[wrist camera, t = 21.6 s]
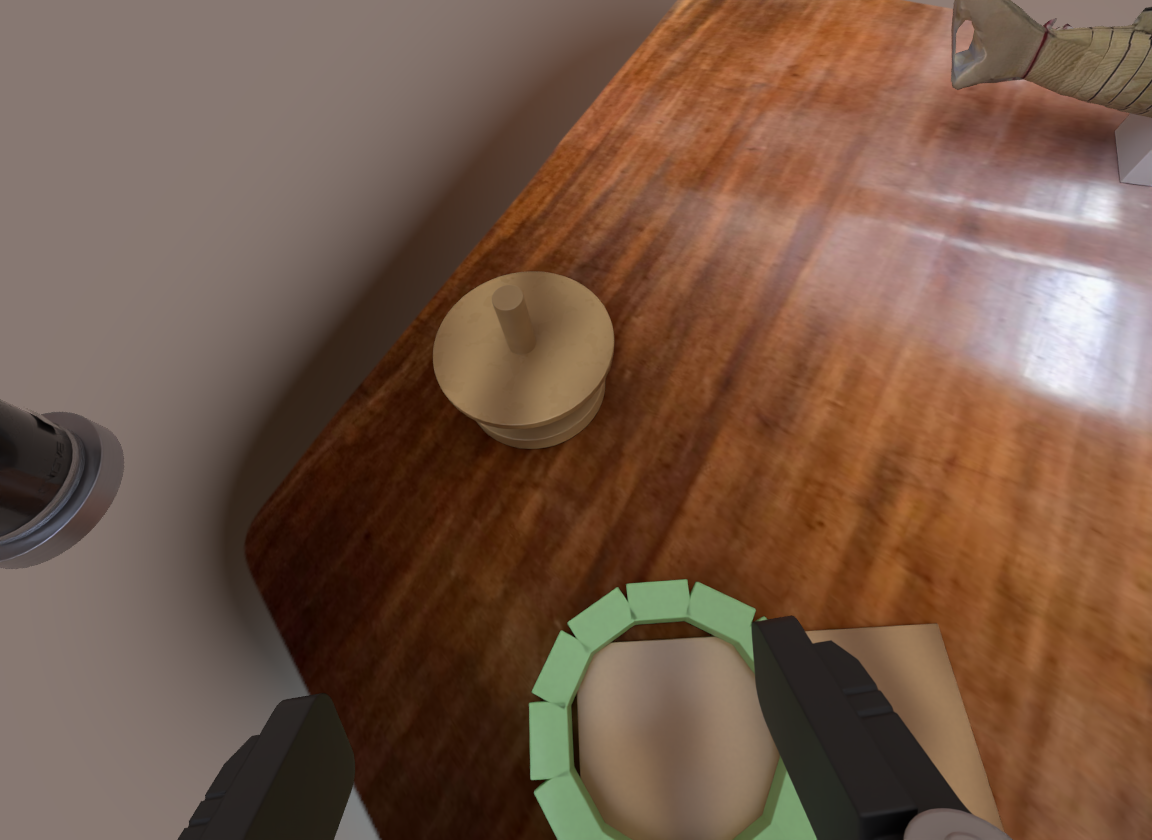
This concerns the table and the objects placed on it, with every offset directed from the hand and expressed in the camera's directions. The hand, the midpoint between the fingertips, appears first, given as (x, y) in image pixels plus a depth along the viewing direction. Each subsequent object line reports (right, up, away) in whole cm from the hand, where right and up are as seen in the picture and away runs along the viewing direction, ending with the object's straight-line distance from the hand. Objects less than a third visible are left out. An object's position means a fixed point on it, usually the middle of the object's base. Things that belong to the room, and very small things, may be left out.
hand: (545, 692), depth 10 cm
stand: (-2, +8, +29) cm, 30 cm away
